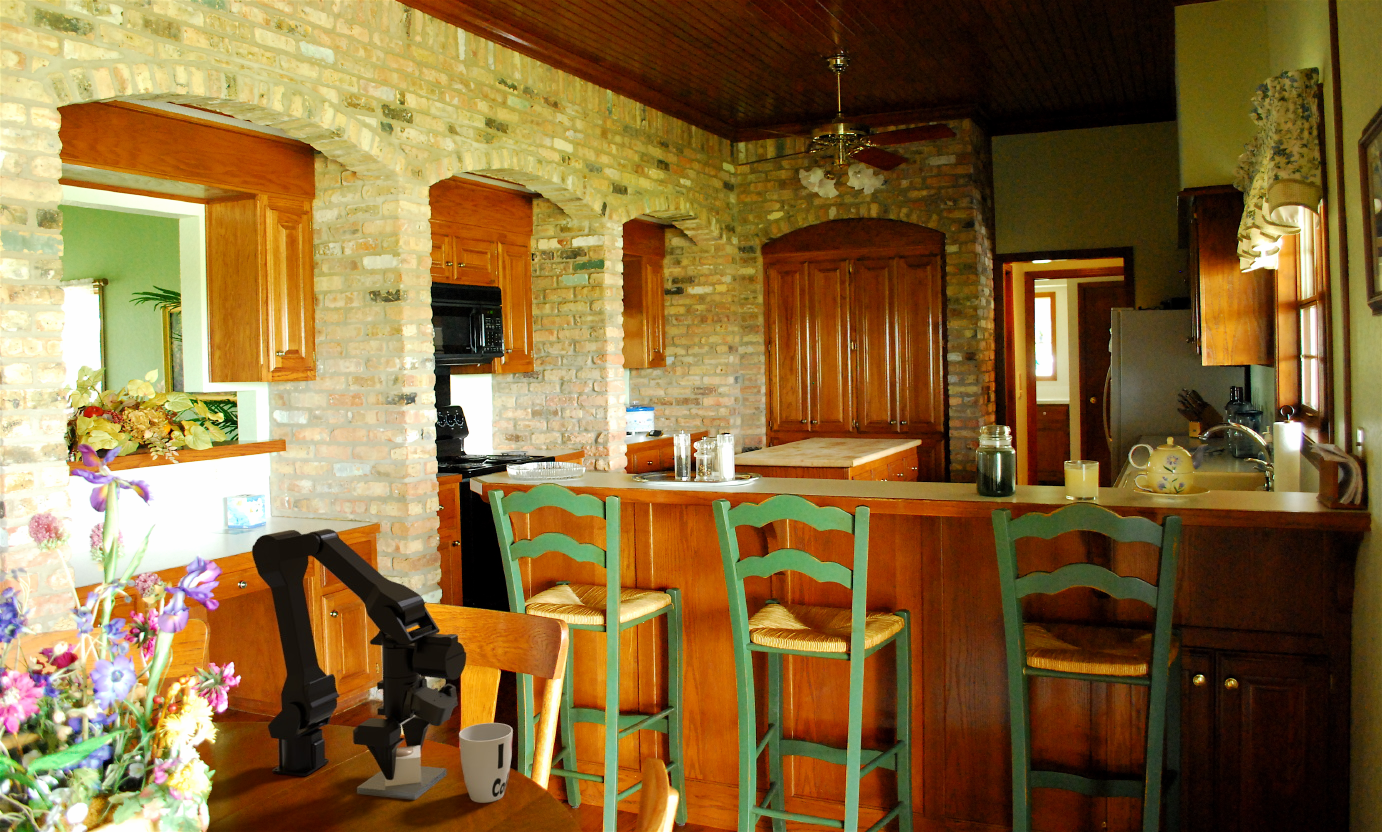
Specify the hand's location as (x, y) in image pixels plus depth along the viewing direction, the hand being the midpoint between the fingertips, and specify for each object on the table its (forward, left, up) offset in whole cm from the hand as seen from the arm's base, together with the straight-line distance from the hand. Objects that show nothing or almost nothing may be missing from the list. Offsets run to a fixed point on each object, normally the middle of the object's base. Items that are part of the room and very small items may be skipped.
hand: (402, 770), depth 156 cm
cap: (0, 0, -1) cm, 1 cm away
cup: (+15, -1, -2) cm, 15 cm away
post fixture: (0, 0, -2) cm, 2 cm away
